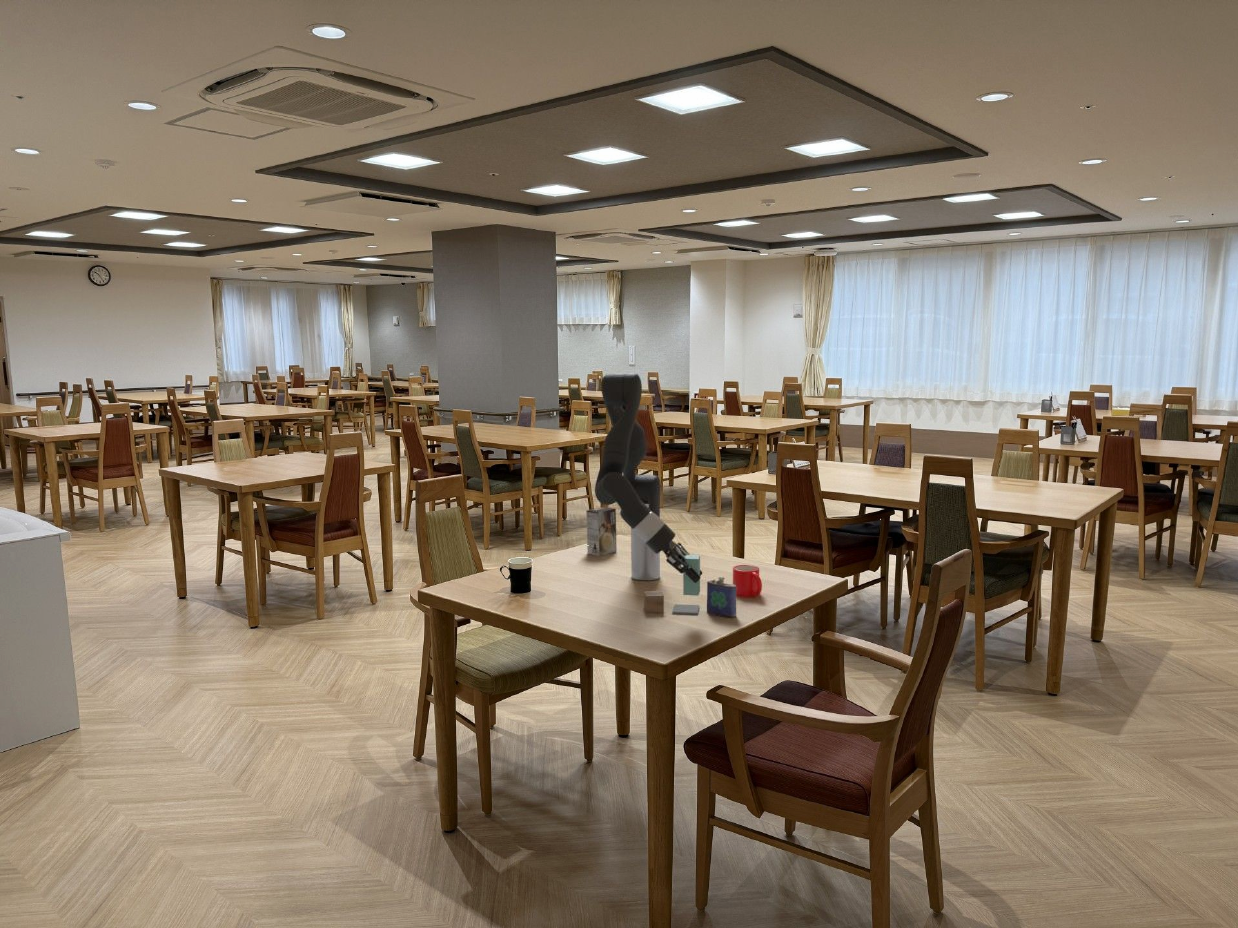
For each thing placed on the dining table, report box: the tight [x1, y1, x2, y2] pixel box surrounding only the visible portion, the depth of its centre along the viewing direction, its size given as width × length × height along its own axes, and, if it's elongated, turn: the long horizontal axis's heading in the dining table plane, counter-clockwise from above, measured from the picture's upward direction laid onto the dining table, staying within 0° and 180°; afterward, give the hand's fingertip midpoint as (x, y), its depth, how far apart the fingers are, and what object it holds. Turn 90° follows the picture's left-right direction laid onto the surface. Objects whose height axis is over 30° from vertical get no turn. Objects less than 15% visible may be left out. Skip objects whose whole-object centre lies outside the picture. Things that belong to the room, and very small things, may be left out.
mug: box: [732, 564, 763, 598], centre depth 258 cm, size 8×12×8 cm, turn 27°
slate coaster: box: [671, 603, 700, 616], centre depth 244 cm, size 7×7×1 cm
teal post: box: [682, 554, 701, 596], centre depth 231 cm, size 4×4×10 cm
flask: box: [706, 576, 737, 619], centre depth 240 cm, size 9×3×11 cm, turn 51°
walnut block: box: [643, 590, 665, 614], centre depth 245 cm, size 5×5×5 cm
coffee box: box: [586, 506, 618, 557], centre depth 312 cm, size 9×6×16 cm
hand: (699, 577), depth 231 cm, fingers closed on teal post, 4 cm apart
